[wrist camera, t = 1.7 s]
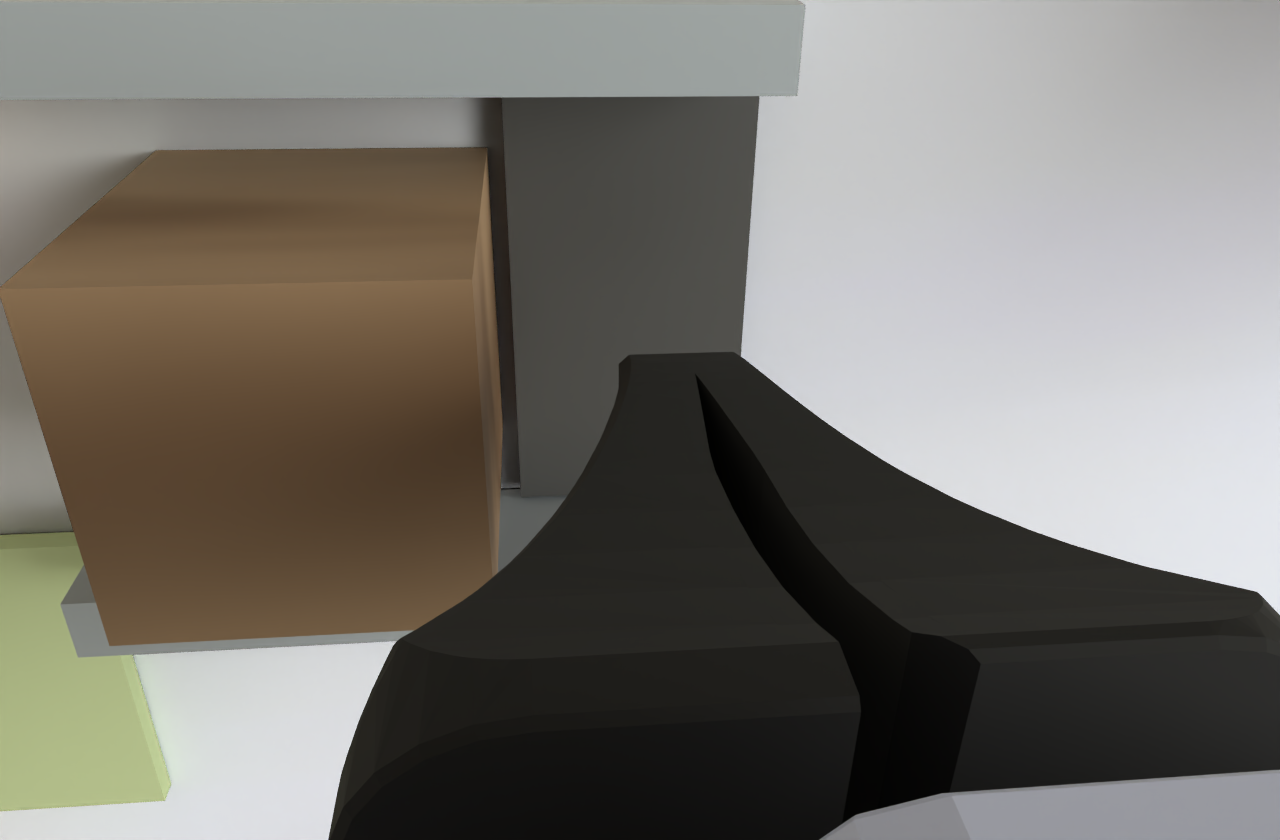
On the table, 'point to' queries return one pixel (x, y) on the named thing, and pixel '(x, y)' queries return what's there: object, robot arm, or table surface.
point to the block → (273, 390)
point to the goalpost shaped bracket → (534, 169)
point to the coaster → (65, 695)
